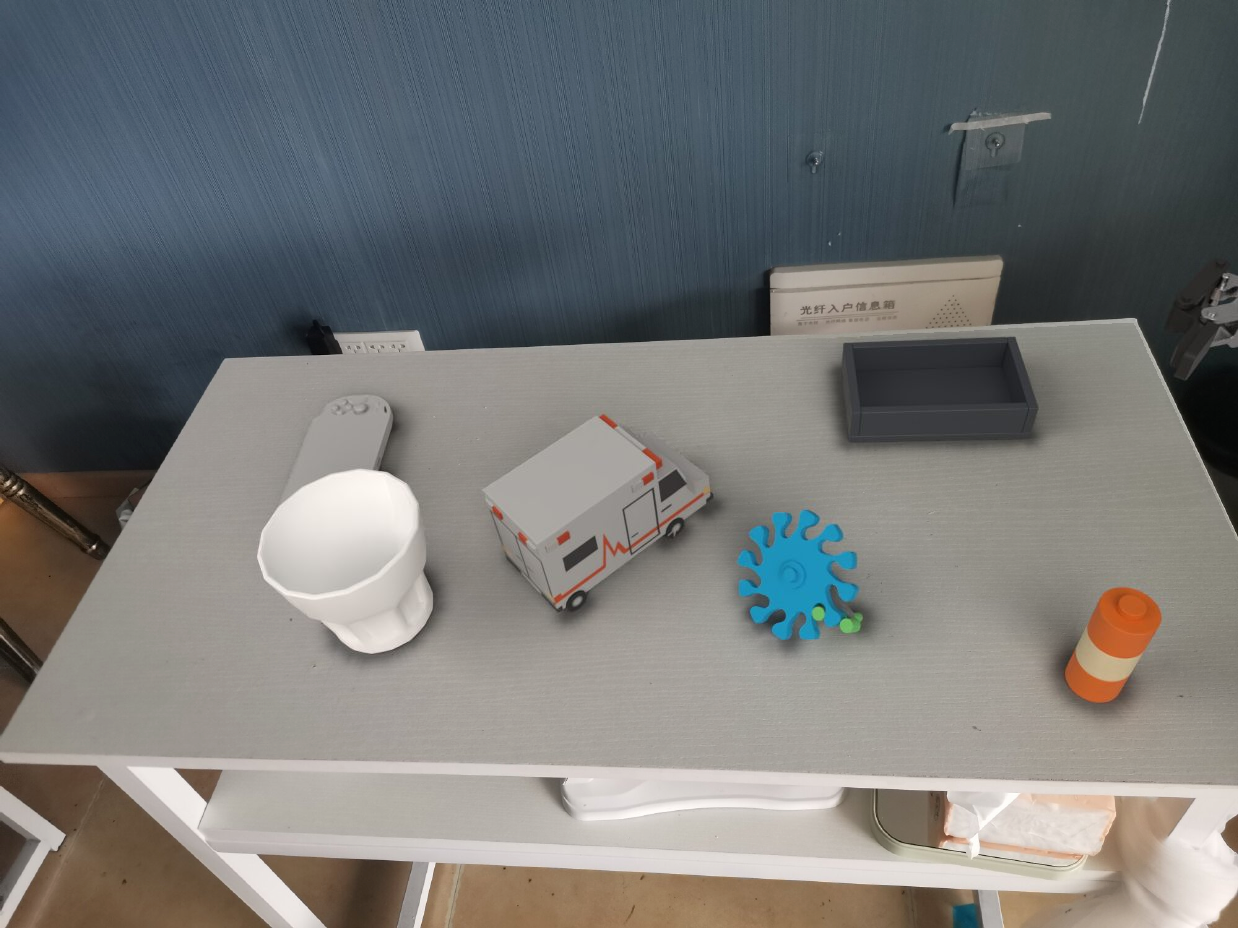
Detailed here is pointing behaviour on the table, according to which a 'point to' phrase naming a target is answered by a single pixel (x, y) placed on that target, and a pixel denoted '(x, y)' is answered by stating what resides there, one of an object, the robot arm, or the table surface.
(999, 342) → the bin
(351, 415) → the game console
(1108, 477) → the table surface
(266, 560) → the cup
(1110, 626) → the orange cylinder
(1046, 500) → the table surface
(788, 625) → the gear
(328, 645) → the table surface
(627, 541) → the toy vehicle
